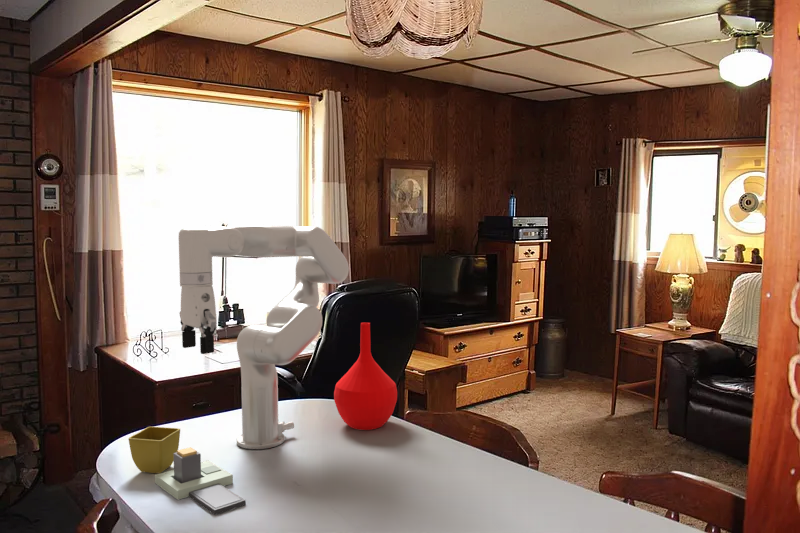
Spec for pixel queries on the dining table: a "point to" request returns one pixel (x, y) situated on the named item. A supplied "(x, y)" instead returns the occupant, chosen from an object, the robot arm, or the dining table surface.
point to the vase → (365, 390)
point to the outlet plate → (208, 477)
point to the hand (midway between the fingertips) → (198, 350)
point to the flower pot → (154, 448)
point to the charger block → (187, 465)
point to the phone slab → (217, 498)
